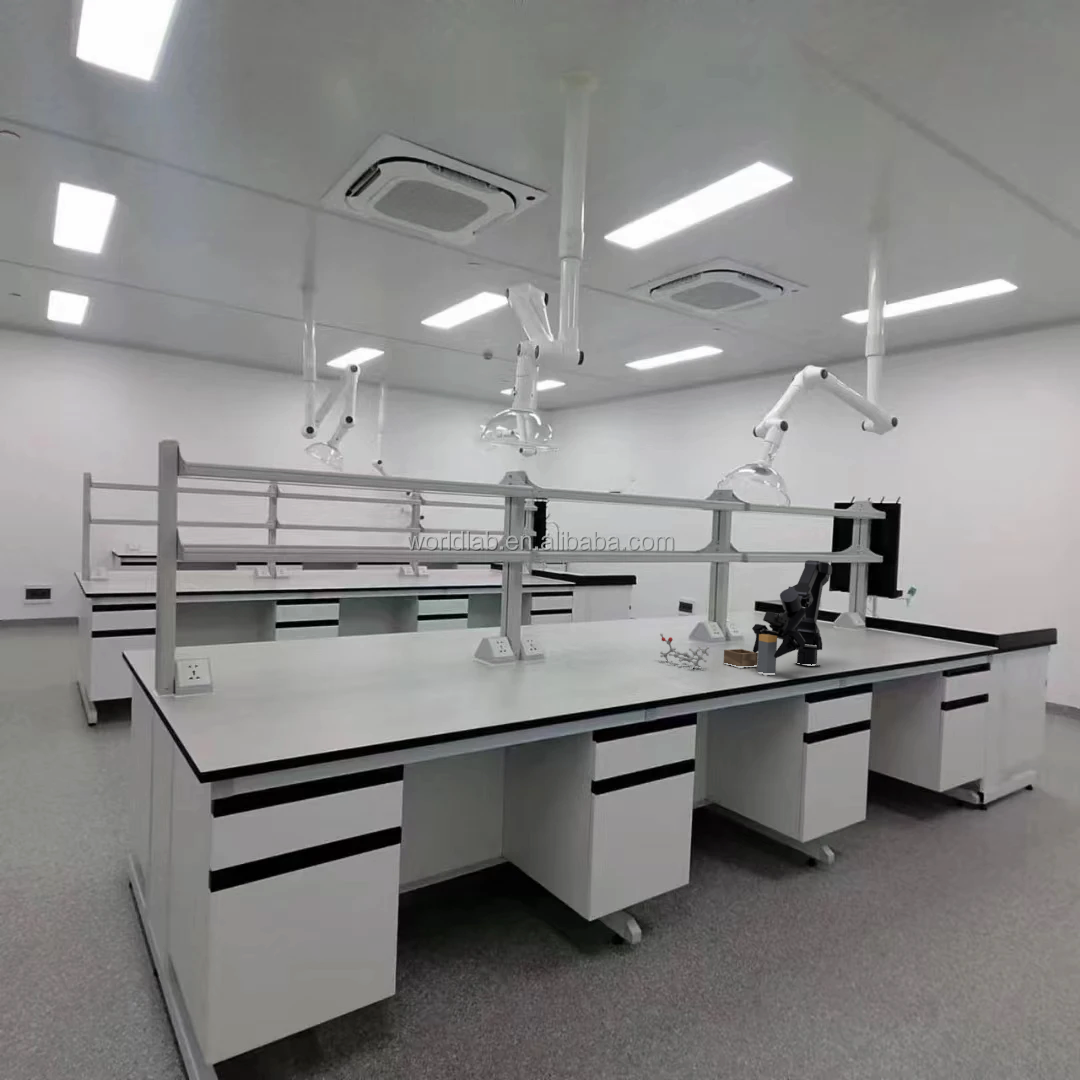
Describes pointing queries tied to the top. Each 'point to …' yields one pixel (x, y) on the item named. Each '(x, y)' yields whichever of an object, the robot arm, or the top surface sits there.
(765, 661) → the grey orange tall block
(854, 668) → the top surface
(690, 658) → the molecular model
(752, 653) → the open wooden box
